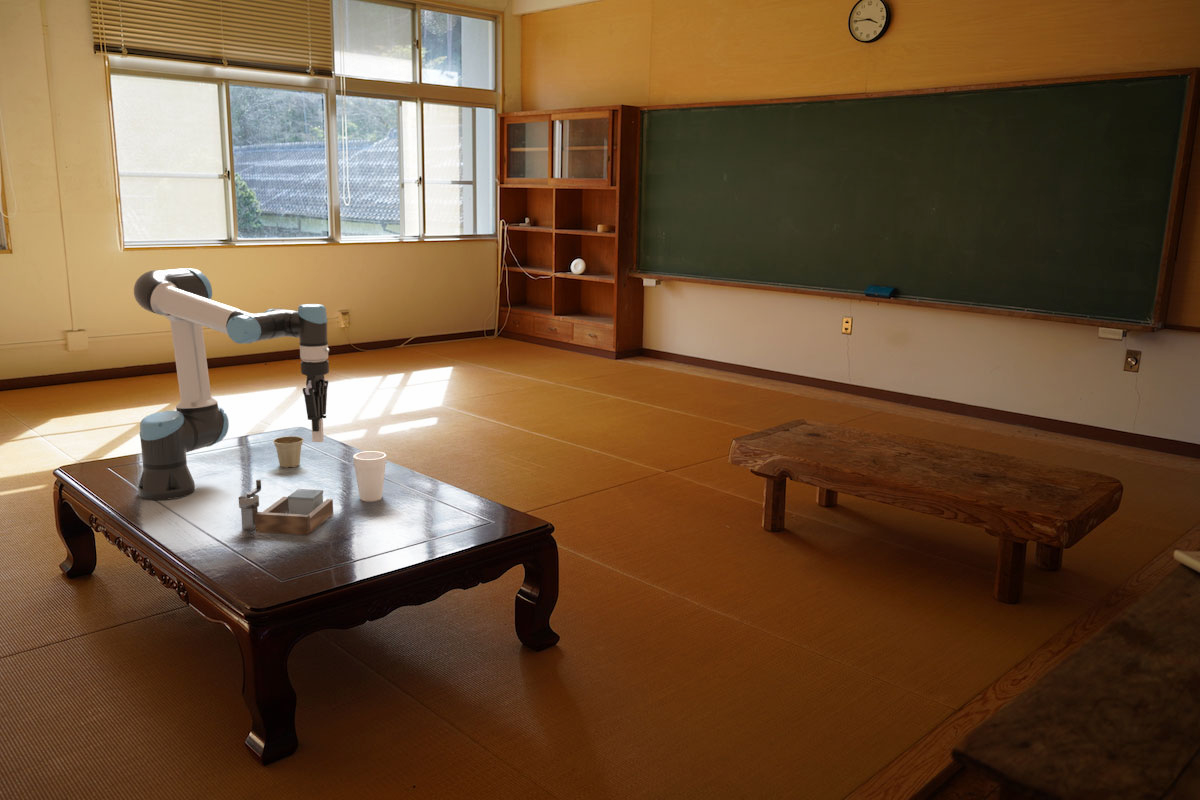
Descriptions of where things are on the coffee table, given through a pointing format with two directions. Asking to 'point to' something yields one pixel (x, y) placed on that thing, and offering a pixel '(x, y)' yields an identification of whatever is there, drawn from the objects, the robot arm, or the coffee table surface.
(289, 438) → the flower pot
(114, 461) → the coffee table surface
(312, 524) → the bay
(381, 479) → the foam cup
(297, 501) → the gray block
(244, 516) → the winch
